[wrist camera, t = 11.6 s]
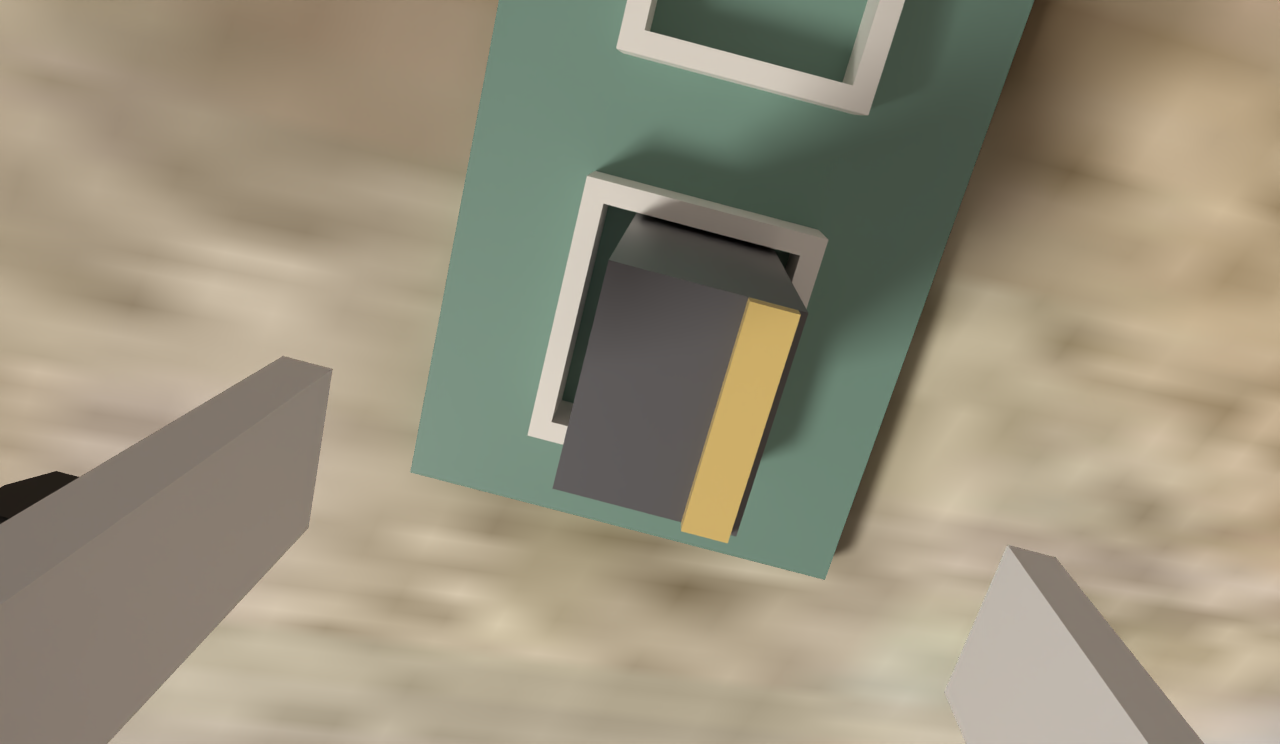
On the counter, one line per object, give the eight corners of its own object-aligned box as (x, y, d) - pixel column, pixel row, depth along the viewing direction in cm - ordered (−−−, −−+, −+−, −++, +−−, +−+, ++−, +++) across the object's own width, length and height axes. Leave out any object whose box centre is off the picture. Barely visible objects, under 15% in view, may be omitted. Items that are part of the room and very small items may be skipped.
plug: (638, 209, 25) (606, 263, 16) (771, 243, 25) (811, 317, 16) (598, 367, 27) (549, 496, 18) (723, 400, 27) (736, 546, 18)
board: (580, -376, 22) (562, -453, 19) (1103, -234, 22) (1167, -287, 19) (421, 458, 29) (389, 498, 26) (819, 561, 30) (833, 613, 27)
